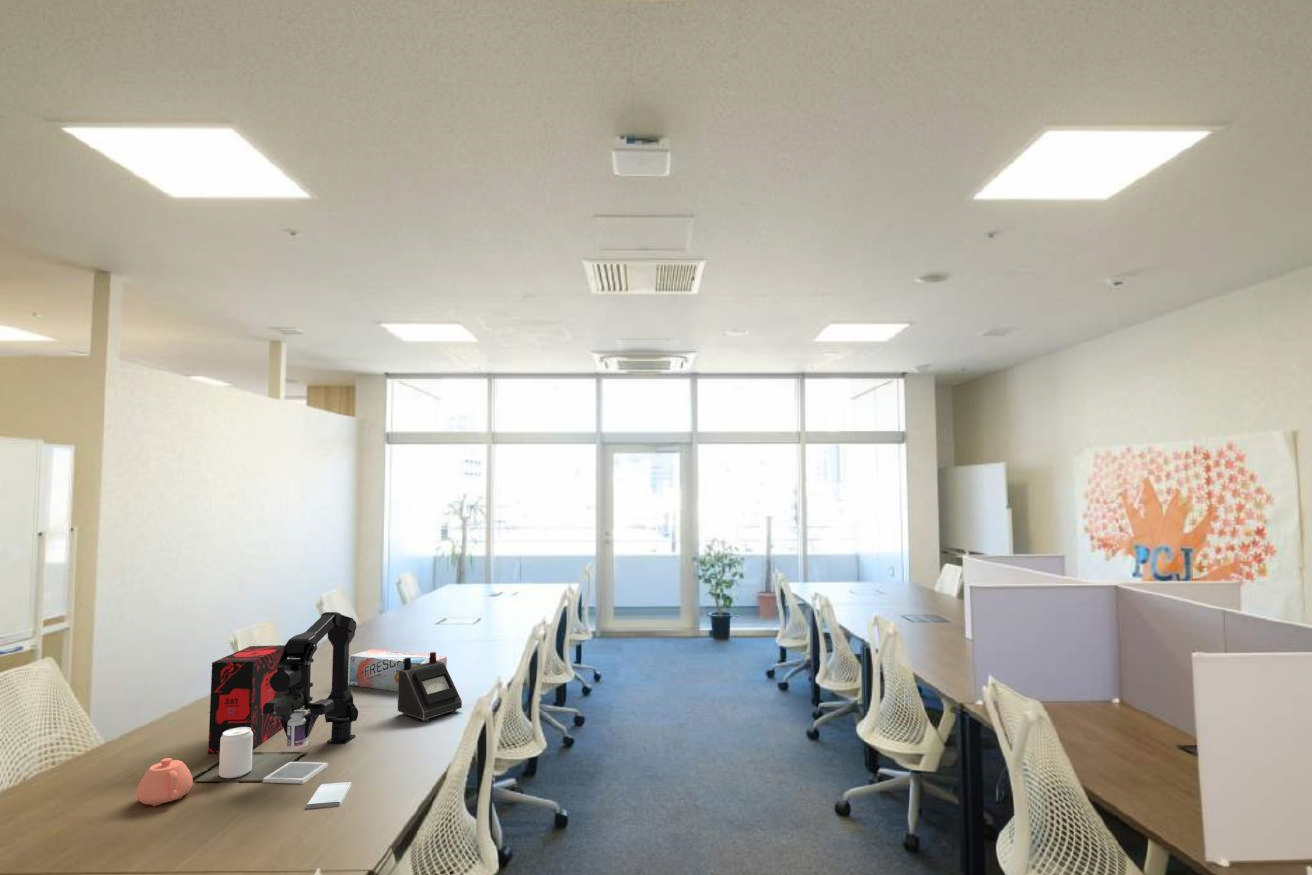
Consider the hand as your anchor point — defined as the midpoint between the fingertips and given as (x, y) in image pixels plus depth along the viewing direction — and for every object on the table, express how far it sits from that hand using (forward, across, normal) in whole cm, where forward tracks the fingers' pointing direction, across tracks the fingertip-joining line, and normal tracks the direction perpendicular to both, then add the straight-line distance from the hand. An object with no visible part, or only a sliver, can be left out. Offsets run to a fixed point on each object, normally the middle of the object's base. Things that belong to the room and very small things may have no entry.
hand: (297, 736), depth 197 cm
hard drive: (+11, +18, -13) cm, 25 cm away
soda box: (+12, -13, +89) cm, 90 cm away
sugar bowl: (+11, -25, -18) cm, 33 cm away
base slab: (+10, 0, 0) cm, 10 cm away
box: (+11, -33, +25) cm, 43 cm away
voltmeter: (+11, +16, +55) cm, 58 cm away
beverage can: (+11, -18, -1) cm, 21 cm away
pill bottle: (+3, 0, 0) cm, 3 cm away
